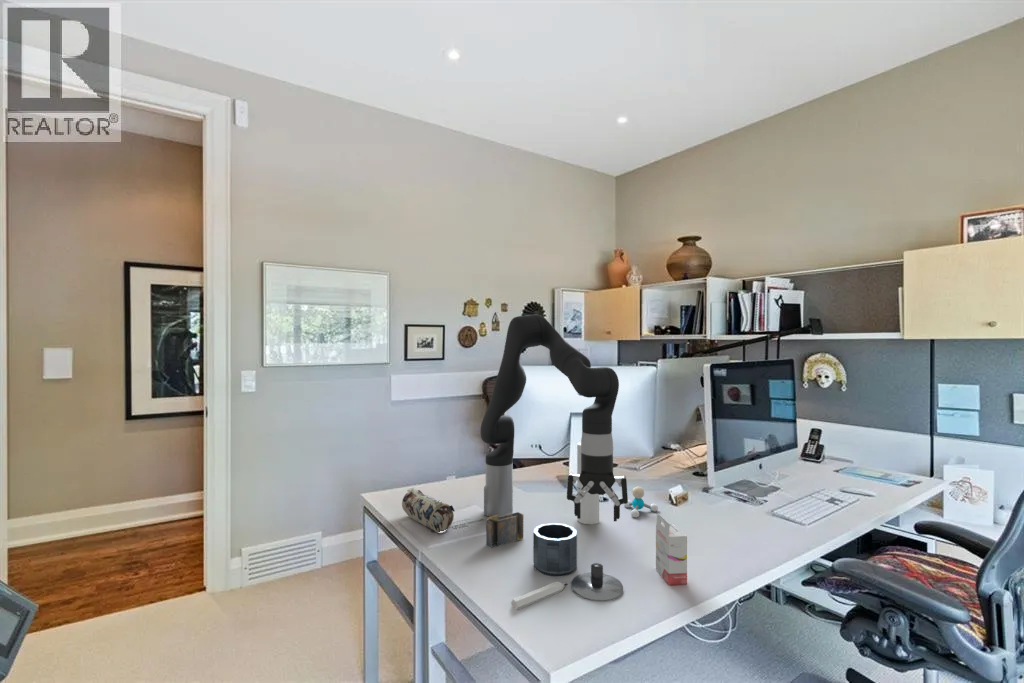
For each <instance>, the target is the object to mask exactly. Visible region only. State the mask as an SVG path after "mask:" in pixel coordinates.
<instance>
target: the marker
mask: <svg viewBox="0 0 1024 683" xmlns="http://www.w3.org/2000/svg"><path fill="white" fill-rule="evenodd" d="M567 586H568V583H562V582H559V581H554V582H553V583H550V584H547V585H545V586H543V587H540V588H537V589H534V590H532V591H530V592H527V593H524V594H523V595H520V596H518V597H517V596H516V597H515V598H513V599H512V600H511V602H510V605H511V607H512V608H513V609H515V611H518V610H520V609H522V608H525V607H528V606H530V605H532V604H534V603H537V602H539V601H542V600H545V599H546V598H549V597H552V596H553V595H556V594H558V593H561V592H562V591H563V590H564V588H565V587H567Z"/></svg>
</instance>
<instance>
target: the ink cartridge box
mask: <svg viewBox="0 0 1024 683" xmlns="http://www.w3.org/2000/svg"><path fill="white" fill-rule="evenodd" d="M656 513H657V515H656V523H655V524H656V525H655V570H656V571H657V572H658V574H659V575H660V576H661V578H662V579H663V580H664V581H665V582H666V583H667V584H668V585H669V586H677V585H688V536H687V535H686V534H685V533H684V532H683V531H682V530H681V529H680V528H678V526H677V525H675V524H674V523H669V522H668V521H667V520H666V519H665V518H664V517H663V516H662V515H661V514H660V513H659V512H656Z"/></svg>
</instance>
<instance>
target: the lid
mask: <svg viewBox="0 0 1024 683" xmlns="http://www.w3.org/2000/svg"><path fill="white" fill-rule="evenodd" d="M570 584H571V585H570V586H571V590H572V592H573V593H574V594H576V595H577V596H579V597H580V598H583V599H585V600H588V601H592V602H593V601H594V602H609V601H614V600H616V599H619V598H620V597H621V596H622V595H623V594H624V585H623V583H622V582H621V581H620V579H618V578H616V577H614V576H612V575H610V574H606V573H604V565H603V564H601V563H597V562H594V563H592V564H590V572H584V573H580V574H577V575H576V576H574V577H573V578H572V579H571V582H570Z"/></svg>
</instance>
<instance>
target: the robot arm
mask: <svg viewBox="0 0 1024 683" xmlns="http://www.w3.org/2000/svg"><path fill="white" fill-rule="evenodd" d="M538 346H542V347H545V348H546V349H548V350H549V358H550V362H551V363H552V365H553V366H554V367H555V368H556V370H558V371H559V372H560V373H562V374H563V375H564V376H565V377H567V378H568V381H569V382H570V384H571V385H572V387H573V389H574V390H575V392H576V393H577V394H579V395H581V397H584V398H588V399H589V398H590V399H591V398H594V402H593V403H592V405H589V406H588V407H587V406H586V407H585V408H584V409H583V410H582V415H581V417H582V419H581V438H580V440H581V441H580V442H581V474H580V475H577V474H574V473H573V472H569V473H568V476H567V485H566V486H567V487H566V499H567V500H568V501H572V502H573V504H574V505H573V506H574V507H573V508H574V511H573V512H574V517H576V519H580V517H581V501H580V500H581V499H582V498H583V497H584V496H585V495H586V493H587V492H588V493H590V494H599V496H604V495H607V497H608V498H609V499H610V500H611V501H612V502H613V522H617V521H618V520H620V518H621V516H620V515H621V513H620V512H621V511H620V510H621V509H620V508H621V505H624V504H627V503H628V500H629V498H628V495H629V494H628V482H627V477H626V475H621V476H615V475H614V441H613V440H614V439H613V417H612V416H613V413H614V409H615V406H616V401H617V398H618V394H619V389H620V382H619V377H618V374H617V372H616V371H615V370H614V369H613V368H611V367H608V366H601V367H599V366H598V367H592V366H591V365H592V364H591V361H590V360H589V358H588V357H587V356H586V355H585V354H584V353H583V352H581V351H579V350H578V349H576V348H575V347H573V345H571V344H570V343H569V342H567V341H566V340H565V339H564V337H562V335H561V334H560V333H559V332H558V331H557V329H556V328H555V327H554V326H553V325H552V324H551V323H550V322H549V320H548V319H546V318H545V317H544V316H542V315H539V314H528V315H527V314H526V315H519V316H515V317H513V318H512V319H511V320H510V322H509V325H508V327H507V332H506V337H505V344H504V350H503V355H502V359H501V363H500V366H499V369H498V372H497V376H496V378H495V383H494V387H493V389H492V393H491V398H490V400H489V403H488V406H487V409H486V411H485V412H484V415H483V418H482V421H481V425H480V438H481V440H482V442H484V443H485V444H487V445H489V444H491V445H492V444H493V445H495V444H499V445H498V446H497V448H495V449H493V450H491V451H490V452H488V453H487V454H486V455H485V485H484V486H483V516H488V517H491V516H495V515H498V514H499V516H498V517H500V516H504V515H508V514H512V513H514V512H513V511H514V510H513V508H514V506H513V503H514V502H513V501H514V500H513V496H514V495H513V492H514V489H513V488H514V484H513V481H514V480H513V479H514V478H513V477H514V476H513V473H514V472H513V471H514V470H513V468H514V465H513V460H514V459H513V458H514V449H515V448H514V447H515V446H514V444H515V422H514V420H513V418H512V416H511V415H506V414H505V413H506V412H507V411H508V410H510V409H511V408H512V407H513V406H515V405H516V404H517V403H518V401H519V400H520V399H521V397H522V396H523V392H524V390H525V387H526V384H527V375H526V371H525V369H524V367H523V365H522V363H521V354H522V352H523V350H524V349H526V348H534V347H538ZM504 414H505V415H504ZM577 480H579V481H580V482H581V484H582V485H583V487H582V488H581V489H580V491H579V492H578V493H577V492H576V494H574V493H573V492H574V485H576V484H577ZM615 483H617V486H618V487H620V488H621V497H619V496H618V495H617V493H616V492H615V491H614V489H613V488H612V487H613V486H614V484H615Z"/></svg>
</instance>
